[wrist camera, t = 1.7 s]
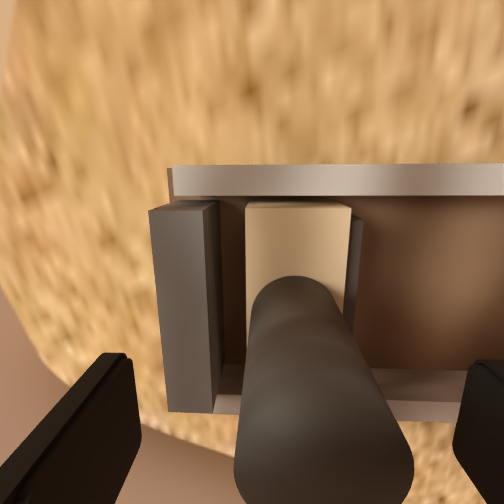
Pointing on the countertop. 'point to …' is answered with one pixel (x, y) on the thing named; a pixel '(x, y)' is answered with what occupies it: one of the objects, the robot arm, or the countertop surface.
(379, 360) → the base
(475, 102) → the countertop surface
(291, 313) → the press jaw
